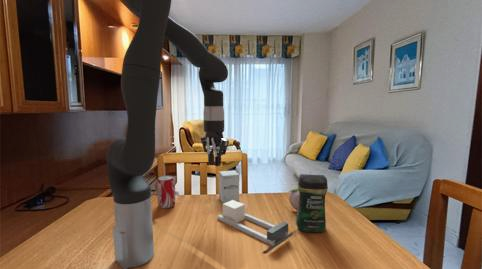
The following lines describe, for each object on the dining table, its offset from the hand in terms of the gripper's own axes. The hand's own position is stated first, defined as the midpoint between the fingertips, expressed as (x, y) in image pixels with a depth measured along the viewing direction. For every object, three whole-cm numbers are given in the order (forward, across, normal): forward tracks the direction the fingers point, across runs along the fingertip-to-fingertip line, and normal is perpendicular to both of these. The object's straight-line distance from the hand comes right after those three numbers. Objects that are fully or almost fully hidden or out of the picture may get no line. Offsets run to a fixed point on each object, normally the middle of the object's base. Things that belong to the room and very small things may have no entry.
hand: (214, 164), depth 95 cm
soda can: (+19, -20, -9) cm, 29 cm away
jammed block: (+18, +10, 0) cm, 21 cm away
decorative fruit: (+19, +23, +24) cm, 38 cm away
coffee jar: (+19, +32, +15) cm, 40 cm away
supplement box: (+19, -5, +12) cm, 23 cm away
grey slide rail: (+19, +18, 0) cm, 26 cm away
